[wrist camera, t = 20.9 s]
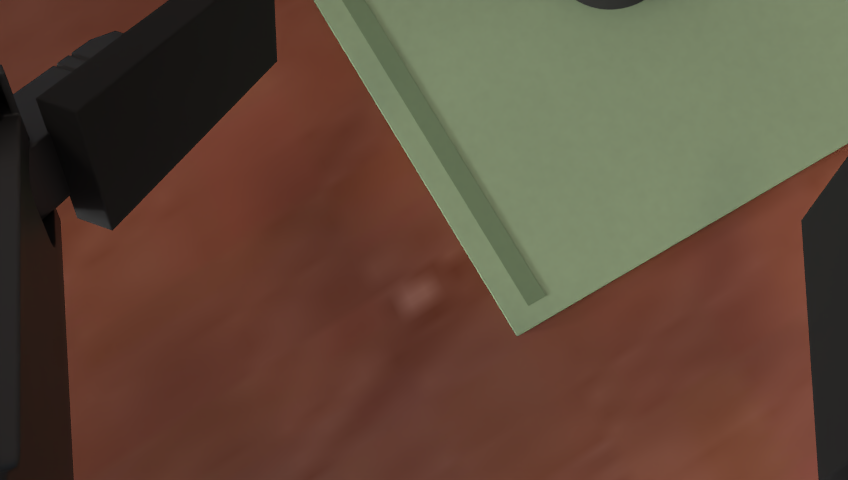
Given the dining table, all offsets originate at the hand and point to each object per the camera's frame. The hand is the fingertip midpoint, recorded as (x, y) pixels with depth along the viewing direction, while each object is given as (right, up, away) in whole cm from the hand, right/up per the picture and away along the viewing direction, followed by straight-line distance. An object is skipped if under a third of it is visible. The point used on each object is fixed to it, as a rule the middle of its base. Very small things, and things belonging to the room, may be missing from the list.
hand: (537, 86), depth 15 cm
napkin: (+5, +8, +12) cm, 15 cm away
